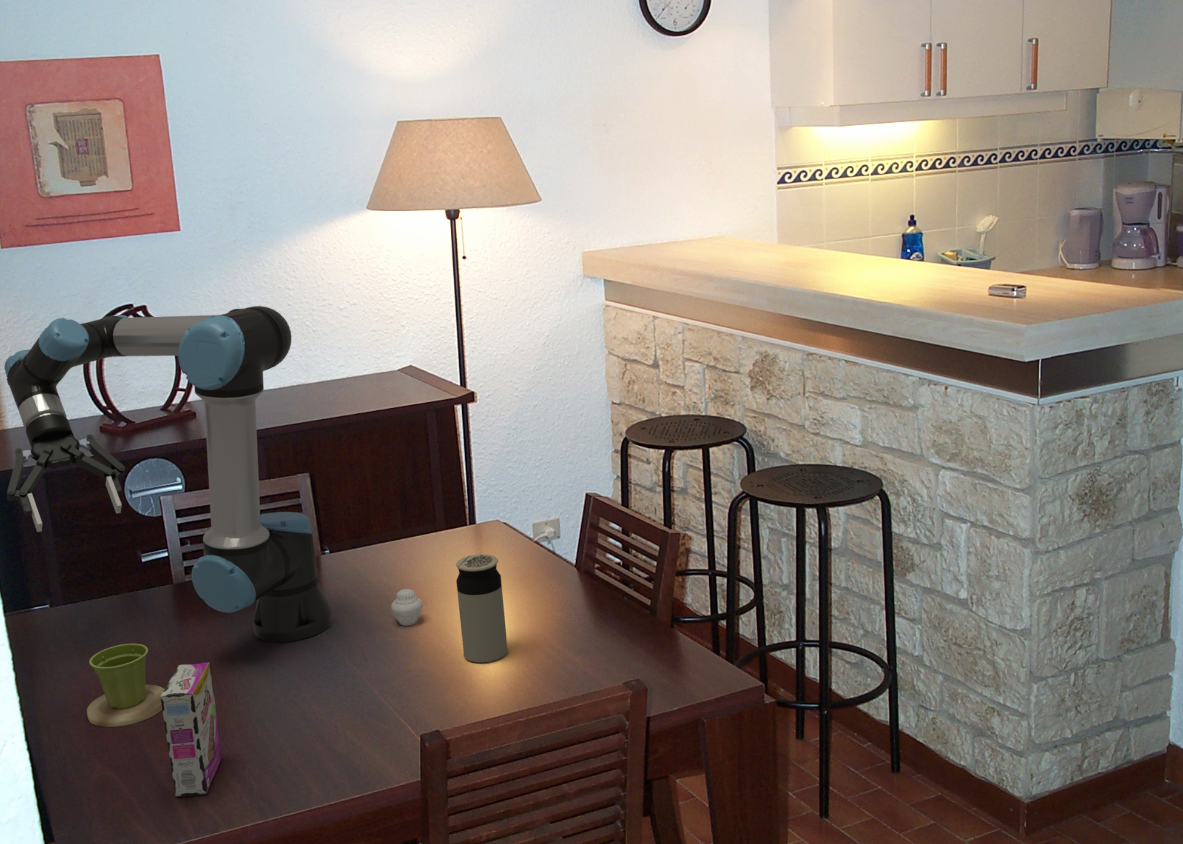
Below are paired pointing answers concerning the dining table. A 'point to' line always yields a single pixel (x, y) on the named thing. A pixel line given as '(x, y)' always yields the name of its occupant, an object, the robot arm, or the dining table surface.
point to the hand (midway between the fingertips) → (80, 518)
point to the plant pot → (122, 674)
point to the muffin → (406, 607)
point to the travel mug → (481, 608)
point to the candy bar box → (191, 729)
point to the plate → (125, 710)
